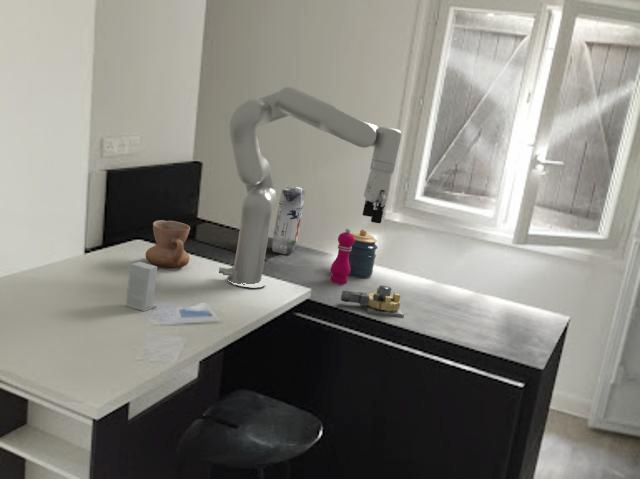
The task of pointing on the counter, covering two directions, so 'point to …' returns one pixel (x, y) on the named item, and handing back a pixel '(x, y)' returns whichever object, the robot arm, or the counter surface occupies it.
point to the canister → (362, 255)
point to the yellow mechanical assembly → (372, 300)
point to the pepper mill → (342, 258)
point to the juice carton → (288, 220)
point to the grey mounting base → (383, 292)
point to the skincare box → (141, 286)
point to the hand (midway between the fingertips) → (371, 219)
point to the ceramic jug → (169, 245)
